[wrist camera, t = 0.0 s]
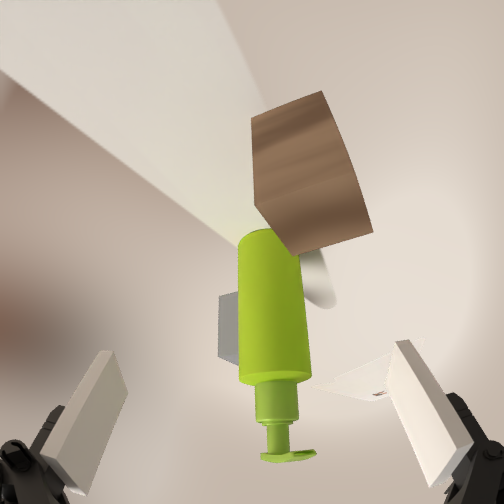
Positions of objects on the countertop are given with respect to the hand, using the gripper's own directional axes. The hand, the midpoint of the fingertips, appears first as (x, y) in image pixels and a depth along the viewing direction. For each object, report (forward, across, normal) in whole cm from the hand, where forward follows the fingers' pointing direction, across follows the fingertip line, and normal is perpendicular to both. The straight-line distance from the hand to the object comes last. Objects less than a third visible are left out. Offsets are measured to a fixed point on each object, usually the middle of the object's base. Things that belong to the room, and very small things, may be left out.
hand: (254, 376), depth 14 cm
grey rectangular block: (+26, -1, -10) cm, 28 cm away
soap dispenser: (+19, +2, 0) cm, 19 cm away
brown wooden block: (+11, +4, +10) cm, 16 cm away
